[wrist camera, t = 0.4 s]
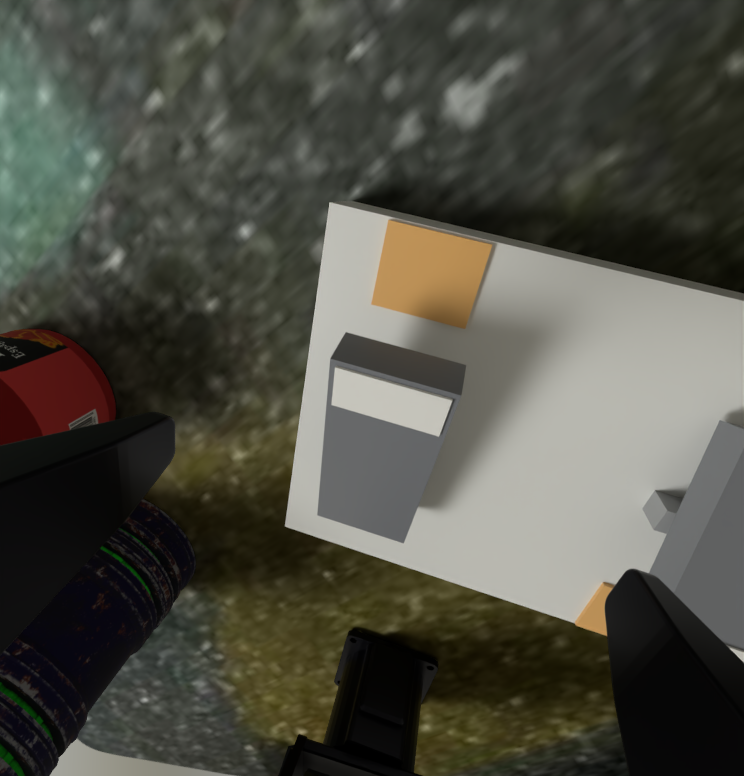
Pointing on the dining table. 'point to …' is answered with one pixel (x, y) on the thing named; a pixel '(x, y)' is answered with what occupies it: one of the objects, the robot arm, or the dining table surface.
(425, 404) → the rocker
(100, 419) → the canned food
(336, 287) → the switch base
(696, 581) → the block
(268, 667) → the dining table surface
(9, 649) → the storage jar
